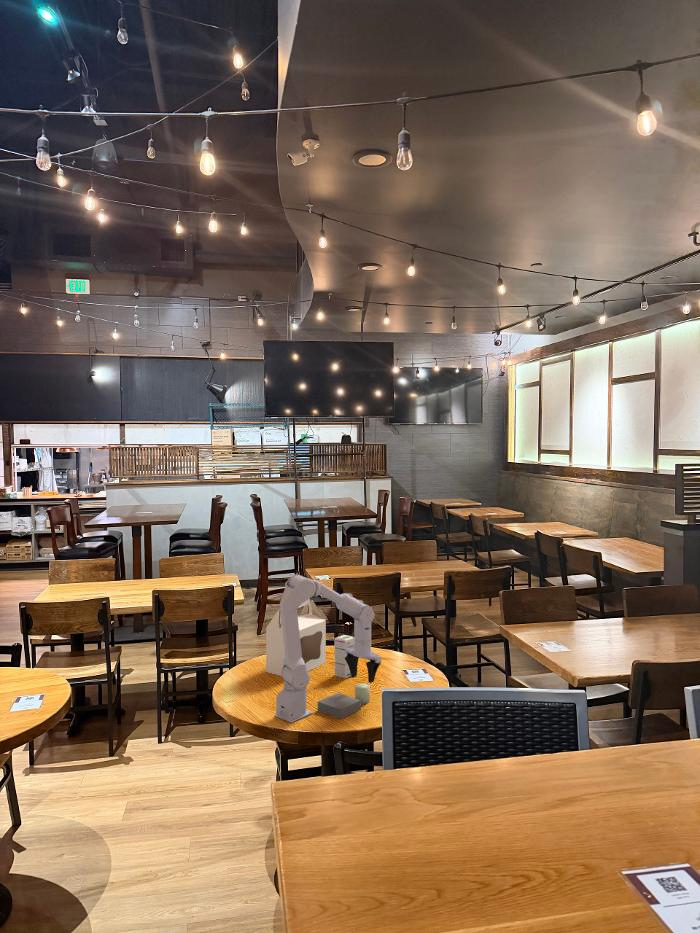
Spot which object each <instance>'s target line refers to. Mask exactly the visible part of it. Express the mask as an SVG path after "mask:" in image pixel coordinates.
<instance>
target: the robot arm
mask: <svg viewBox="0 0 700 933" xmlns="http://www.w3.org/2000/svg"><path fill="white" fill-rule="evenodd" d="M284 583H285V584H284V590H283V593H282V596H281V598H280V601H279V609H280V611H281V621H282V630H283V639H284V649H285V659H284V660H283V668H282V671H281V675H282V676H281V678H282V679H283V680H284V683H283V688H282V689H281V690H280V691H279V692H277V694H276V697H275V698H276V700H275V701H276V702H275V703H276V705H275V708H276V709H275V712H276V713H274V717H276V718H278V717H279V719H280V720H281V719H282V720H283V721H286V722H289V723H294V722H296V721H298V720H301V719H303V718H306V717H308V716H310V715H311V714H313V711H311V710H307V686H308V685H309V684H310V680H311V678H310V677H311V676H310V673H309V671H308V672H307V670H306V665H305V663H304V660H303V658H302V653H301V643H300V634H299V624H298V616H299V615H298V609H299V608H300V607H299V606H300V605H301V604H302V603H304V602H305V601H307V600H308V599H310V600H311V598H312V597H313V596H314V597H317V596H322V597H323V598H325V599H327V600H330V601H331V602H333V603H335V606H336V608H337V609H338V610H340V611H341V612H343V613H344V614H347V615H349V616H350V617H352V618H353V619H354V620H353V621H354V624H353V627H354V631H353V633H354V634H353V635H354V636H353V637H354V648H349V647H348V648H345V654H346V655H347V656H346V657H345V660H346V662H347V664H348V666H349V669H350V673H351V676H350V677H351V678H355V677H357V676H358V664H359V658H360V659H364V660H369V661H367V662H365V665H366V669H367V678H368V679H367V680H368V683H369V684H372V683H374V682H375V679H376V678H375V677H376V674H377V671H378V670H379V667H380V665H381V664H382V656H381V655H379V654H377V653H375V652H373V650H372V622H373V620H374V618H375V615H376V614H375V612H374V609H373V607H371V606H370V605H368V604H365V603H364V600H361V599H357V598H355V597H354V596H353V594H352V593H349V592H348V593H346V592H345V593H341V594H340V593H339V592H336V591H335V590H334V589H332V588H330V587H328V586H327V585H325V584H323V582H320V581H318V580H314V579H311V578H308V577H305V576H303V575H300V574H294V575H292V576H290V577H289V579H288V580H287V581H286V582H284ZM298 607H299V608H298Z"/></svg>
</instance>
